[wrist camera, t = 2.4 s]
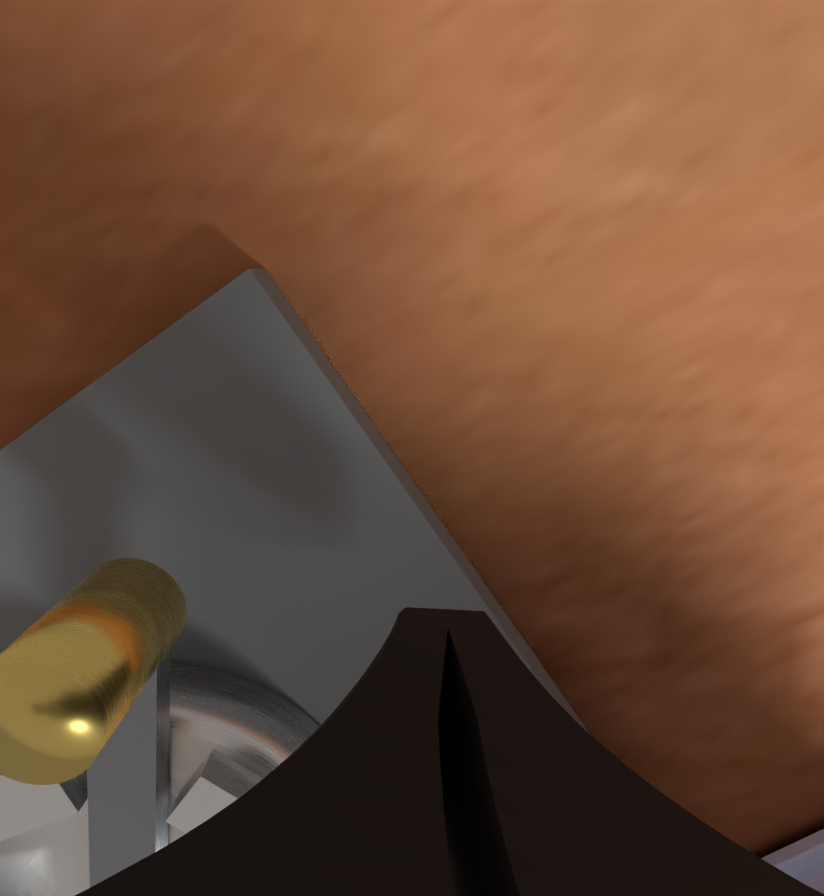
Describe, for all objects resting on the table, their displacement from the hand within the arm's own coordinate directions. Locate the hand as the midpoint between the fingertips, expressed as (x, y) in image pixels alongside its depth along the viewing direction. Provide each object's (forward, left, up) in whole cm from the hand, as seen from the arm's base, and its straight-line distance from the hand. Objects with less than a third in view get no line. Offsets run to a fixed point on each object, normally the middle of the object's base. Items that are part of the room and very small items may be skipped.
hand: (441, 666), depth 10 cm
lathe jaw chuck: (-1, +7, -3) cm, 8 cm away
